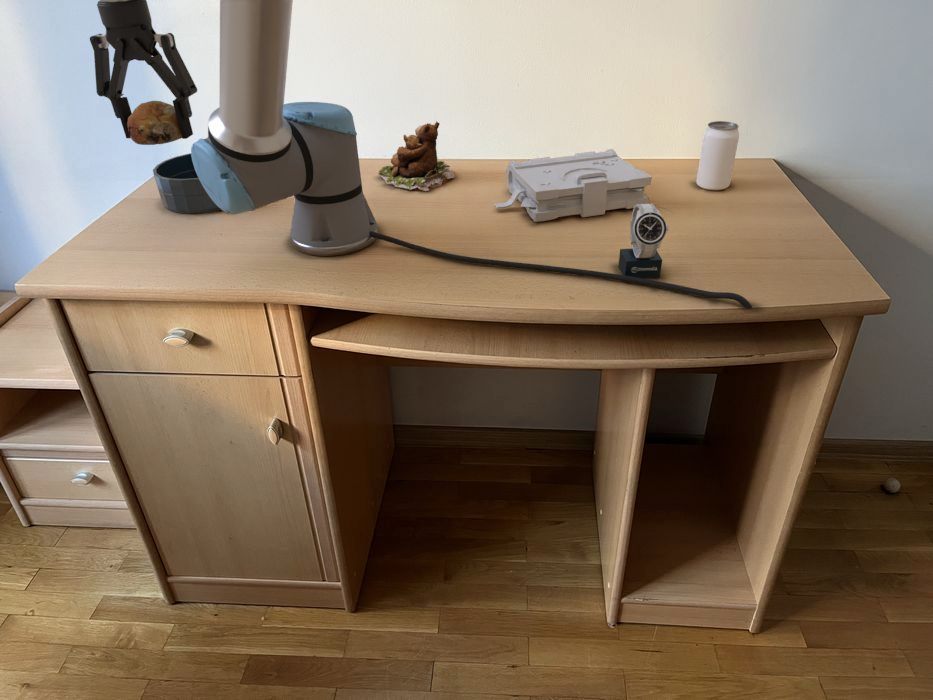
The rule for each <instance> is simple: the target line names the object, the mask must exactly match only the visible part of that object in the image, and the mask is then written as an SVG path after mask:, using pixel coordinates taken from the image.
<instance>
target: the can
mask: <svg viewBox="0 0 933 700" xmlns="http://www.w3.org/2000/svg"><path fill="white" fill-rule="evenodd" d="M739 138H740V132H739V124H738V123H735V122H731V121H725V120H716V121H710V122H709V123H707V128H706V129H705V130H704V133H703V138H702V144H701V149H700V155H699V161H698V166H697V167H698V168H697V173H696V180H695V183H696V185H697V187H698V188H700V189H703V190H705V191H715V192H716V191H723V190H726V189H728V187H730V185H731V180H732V175H733V170H734V164H735V160H736V155H737V149H738V143H739Z"/></svg>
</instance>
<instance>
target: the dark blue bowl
mask: <svg viewBox="0 0 933 700" xmlns="http://www.w3.org/2000/svg"><path fill="white" fill-rule="evenodd" d="M152 172H153V177H154V180H155V184H156V187H157V190H158V193H159V197H160V201H161V204H162V206H164V207H165V208H166V209H168V210H170V211H171V212H174V213H179V214H191V215H192V214H205V213H211V212H217V211H221V209H220V208H219V207H218V206H217V205H216V204H215V203H214V202H213V201H212V199H211V198H210V197H209V195H208V194H207V192H206V191H205V189H204V187H203V186H202V184H201V182H200V180H199V178H198V176H197V173H196V171H195V168H194V165H193V162H192V157H191V152H189V153H185V154H181V155H177V156H174V157H170V158H168V159H166V160H165V159H164V160H163V161H161V162H160V163H157V164H156V165H155V167H154V168H153V169H152Z"/></svg>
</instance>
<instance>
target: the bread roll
mask: <svg viewBox="0 0 933 700" xmlns="http://www.w3.org/2000/svg"><path fill="white" fill-rule="evenodd" d="M127 126H128V131H129V135H130V137H131V138H130V139H131V141H133V142H134V143H135V144H137V145H141V146H154V145H155V146H156V145H164V144H168V143H173V142H175V141H178V140H180V139H182V135H181V131H180V127H179V124H178V120H177V116H176V112H175V109H174V105H173V104H170V103H167V102H165V101H162V100H150V101H149V100H148V101H146V102H142V103H140V104H138V105H137V106H136V107H135V108H134V109H133V110H132V114H131V115H130V116H129V117H128V121H127Z"/></svg>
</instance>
